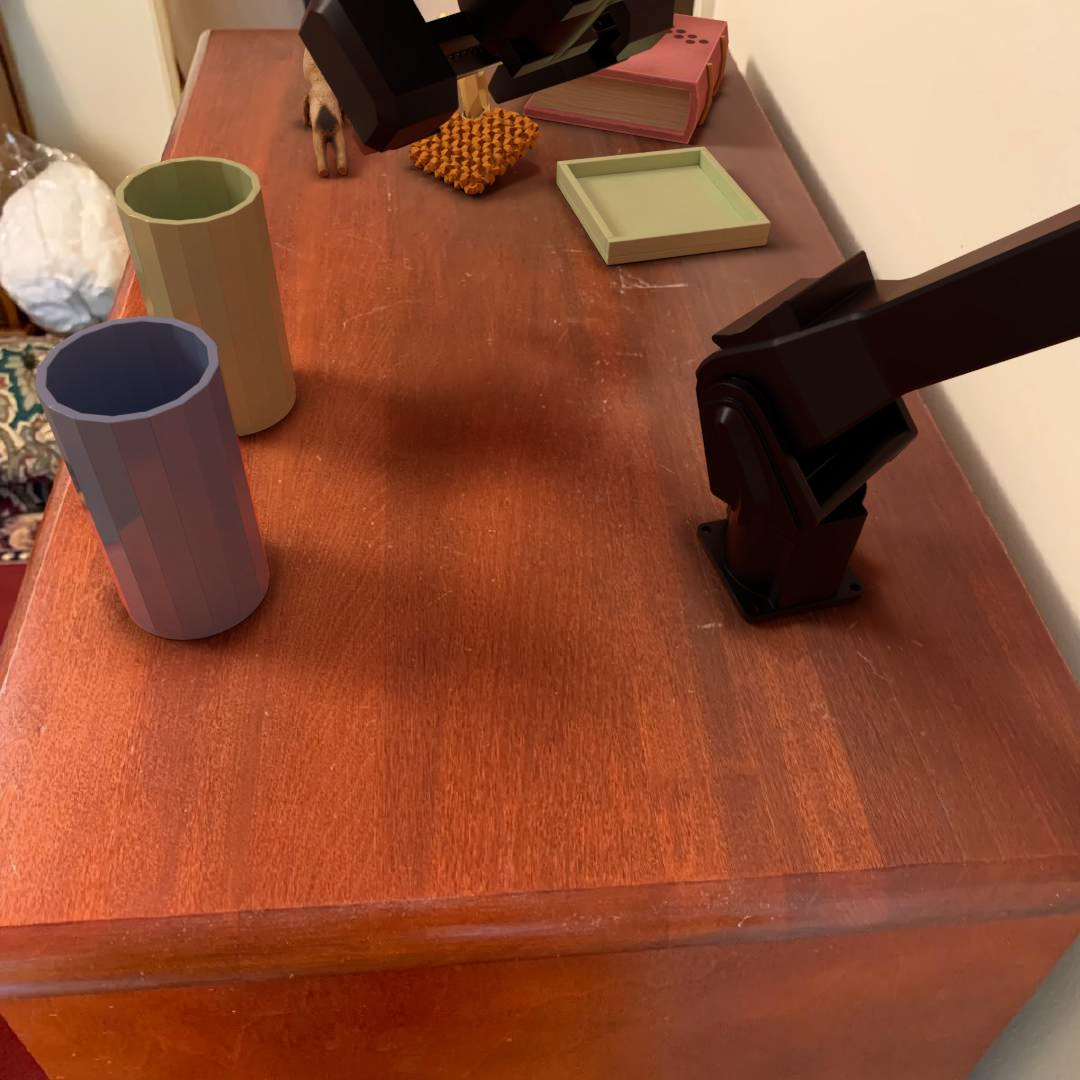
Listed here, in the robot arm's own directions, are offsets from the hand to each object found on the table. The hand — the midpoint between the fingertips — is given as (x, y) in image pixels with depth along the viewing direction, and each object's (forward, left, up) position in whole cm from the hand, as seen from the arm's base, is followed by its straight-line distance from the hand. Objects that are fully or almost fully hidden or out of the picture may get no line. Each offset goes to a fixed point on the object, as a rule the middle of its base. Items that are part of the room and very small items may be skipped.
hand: (430, 119), depth 53 cm
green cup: (-2, +13, -14) cm, 19 cm away
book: (+33, -24, -14) cm, 43 cm away
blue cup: (-16, +16, -14) cm, 27 cm away
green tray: (+13, -19, -14) cm, 27 cm away
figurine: (+31, +3, -14) cm, 34 cm away
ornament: (+25, -8, -14) cm, 30 cm away
